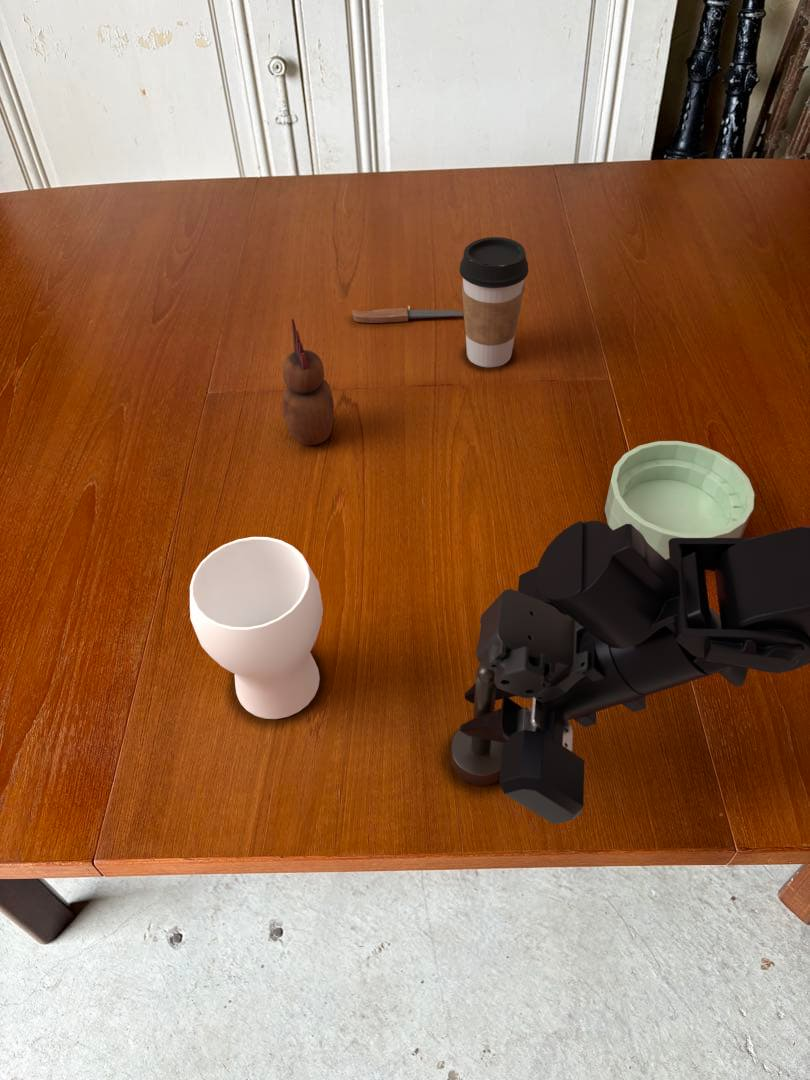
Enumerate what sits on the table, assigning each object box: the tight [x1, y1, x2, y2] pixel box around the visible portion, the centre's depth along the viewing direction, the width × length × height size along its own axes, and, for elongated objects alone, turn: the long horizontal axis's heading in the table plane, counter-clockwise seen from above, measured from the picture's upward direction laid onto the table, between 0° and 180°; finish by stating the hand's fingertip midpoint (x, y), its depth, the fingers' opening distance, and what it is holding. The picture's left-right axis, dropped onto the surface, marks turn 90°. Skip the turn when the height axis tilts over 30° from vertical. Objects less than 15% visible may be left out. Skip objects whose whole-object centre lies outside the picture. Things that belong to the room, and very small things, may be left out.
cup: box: [189, 536, 324, 720], centre depth 70 cm, size 11×11×15 cm
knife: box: [351, 305, 464, 324], centre depth 114 cm, size 17×1×3 cm
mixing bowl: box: [604, 440, 755, 560], centre depth 86 cm, size 14×14×5 cm
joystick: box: [450, 663, 505, 787], centre depth 64 cm, size 5×5×14 cm
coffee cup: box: [459, 236, 529, 368], centre depth 103 cm, size 8×8×15 cm
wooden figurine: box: [282, 318, 335, 446], centre depth 93 cm, size 7×6×15 cm
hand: (465, 714), depth 65 cm, fingers open, 3 cm apart
